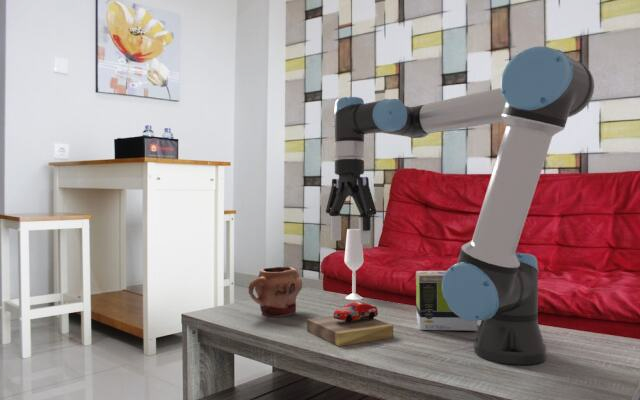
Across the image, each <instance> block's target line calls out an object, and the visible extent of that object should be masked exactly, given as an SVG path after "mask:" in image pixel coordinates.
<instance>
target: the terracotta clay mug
mask: <svg viewBox="0 0 640 400" xmlns="http://www.w3.org/2000/svg"><path fill="white" fill-rule="evenodd" d="M302 288H303V281H302V279H301V277H300V274H299V272H298V270H297V269H296V268H294V267H292V266H289V267H288V266H278V267H277V266H276V267H267V268H266V267H265V268H262V269H260V271H259V273H258V277H256V278H253V279H252V280H251V281H250V282H249V286H248V294H249V295H250V298H251V300H253V302H255V303H256V304H258V305H259V306H260V307H259V308H260V311H261V314H262V315H264V316H267V317H273V318H275V317H276V318H278V317H286V316H291V315H294V314H296V311H297V302H296V301H297V296H298V295H299V293H301V290H302ZM254 291H255V293H256V295H257V297H256V295H255V294H254Z"/></svg>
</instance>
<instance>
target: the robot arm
mask: <svg viewBox="0 0 640 400" xmlns="http://www.w3.org/2000/svg"><path fill="white" fill-rule="evenodd" d="M499 85H500V87H499V88H494V89H489V90H485V91H481V92H476V93H471V94H467V95H462V96H457V97H451V98H448V99H443V100H439V101H433V102H429V103H425V104H421V105H415V106H409V105H408V106H406V105H405V104H404V103H403V102H402V101H401V100H400V99H398V98H390V99H389V98H386V99H381V100H377V101H372V102H367V103H365V102H364V99H363V98H361V97H358V96H348V97H346V96H344V97H339V98H337V99H336V101H335V104H334V114H333V118H334V159H335V161H334V174H335V175H337V176H338V178H332V179H331V187H330V193H329V196H328V200H327V204H326V208H325V213H326V214H329V217H330V241H332V242H333V241H334V242H335V241H342V214H341V211H342V209H343V207H344V204H345V202H346V200H347V198H349V197H351V198H352V199H353V201H354V203H355V206H356V208H357V210H358V212H359V215H358V229H359V244H362V245H370V244H371V217H372V216H375V215H377V209H376V206H375V202H374V199H373V195H372V192H371V188H370V183H369V181H370V180H369V177H368V176H361V175H364V174H365V161H364V159H363V158H364V157H365V147H364V146H365V145H364V144H365V135H369V134H370V135H371V134H387V135H395V136H401V137H407V138H411V139H422V138H425V137H427V136H428V135H429V134H430V135H431V134H433V133H435V134H436V133H442V132H448V131H452V130H453V131H454V130H460V129H467V128H474V127H477V126H478V127H479V126H484V125H490V124H491V125H492V124H497V123H503V122H504V124H505V129H504V133H503V135H502V139H501V142H500V146H499V149H498V152H497V156H496V159H495V163H494V165H493V169H492V173H491V175H490V179H489V181H488V185H487V189H486V192H485V196H484V199H483V202H482V205H481V209H480V212H479V216H478V219H477V222H476V225H475V229H474V232H473V235H472V239H471V240H470V241H468V242H466V243H465V244H463V245H462V246H461V248H460V252H459V256H458V258H457V262H456V263H455V264H453V265H451V266H450V267H449V268H448V269H447V270H445V271H446V273H445V274H444V276H443V279H442V293H443V297H444V299H445V300H446V302H447V305H448V307H449V308H450V309H451V310H452V311H453V312H454V313H455V314H456V315H458V316H459V317H461V318H463V319H466V320H469V321H477V322H478V321H480V325H479V327H478V329H477V334H476V337H475V339H474V343H473V344H474V349H473V351H474V353H475V354H476V355H477V356H478V357H480V358H482V359H484V360H488V361H491V362H495V363H501V364H508V365H518V366H519V365H522V366H523V365H535V364H536V365H537V364H540V363H543V362H545V361H546V360H547V347H546V345H545V342H544V339H543V335H542V332H541V328H540V326H539V322H538V321H539V319H538V311H539V310H538V309H539V307H538V305H539V304H538V303H539V301H538V300H539V271H540V270H539V268H538V259H537V257H536V256H535V255H533V254H530V253H521V252H516V251H517V248H518V246H519V242H520V238H521V235H522V233H523V229H524V226H525V224H526V220H527V216H528V213H529V211H530V208H531V205H532V202H533V198H534V194H535V192H536V189H537V185H538V182H539V180H540V178H541V177H540V176H541V173H542V171H543V167H544V164H545V161H546V157H547V155H548V151H549V149H550V145H551V142H552V139H553V137H554V136H555V135H556V134H559V133H560V132H562V131H564V130H565V127H566V124H567V123H568V122H567V121H568V118H570V117H574V116H575V115H577V114H579V113H580V112H581V111H583V110H584V109H585V108H586V107H587V106H588V104H589V103H590V102H591V100H592V98H593V95H594V92H595V81H594V77H593V75H592V72H591V71H590V69H589V68H588V67H587V66H586V65H585V64H583V63H582V62H581V61H579V60H575V59H574V58H572V57H570V56H569V55H568V54H566V53H565V52H564V51H563V50H560V49H556V48H552V47H550V46H543V45H542V46H539V45H538V46H533V47H529V48H527V49H524V50H522V51H521V52H519V53H518V54H515V55H514V56H513V57H512V58H511V59H510V61H508V62H507V64H506V66H505V68H504V69H503V71H502V74H501V77H500V83H499Z"/></svg>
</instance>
